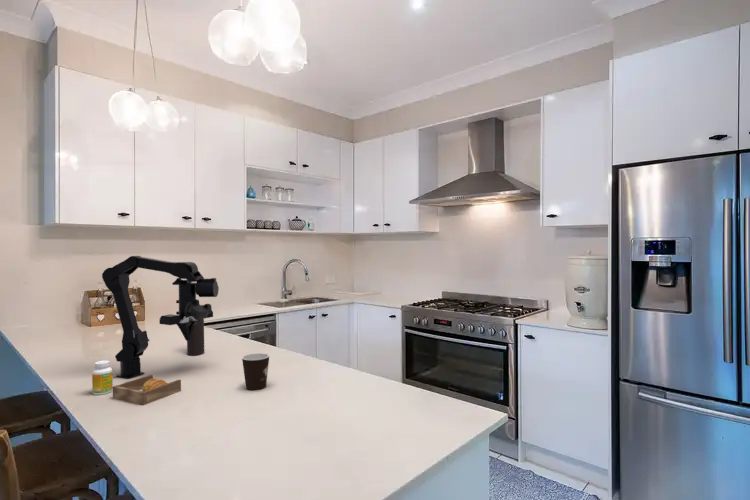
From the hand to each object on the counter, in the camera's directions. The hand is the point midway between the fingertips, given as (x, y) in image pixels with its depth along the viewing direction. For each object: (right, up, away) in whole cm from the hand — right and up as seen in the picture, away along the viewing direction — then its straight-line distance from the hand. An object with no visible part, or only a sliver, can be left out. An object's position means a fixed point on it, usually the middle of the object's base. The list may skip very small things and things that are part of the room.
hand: (187, 340), depth 151 cm
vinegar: (-9, -12, +28) cm, 32 cm away
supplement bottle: (-19, -13, -17) cm, 29 cm away
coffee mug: (+29, -13, -12) cm, 34 cm away
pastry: (-2, -13, -17) cm, 22 cm away
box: (-4, -13, -19) cm, 23 cm away
